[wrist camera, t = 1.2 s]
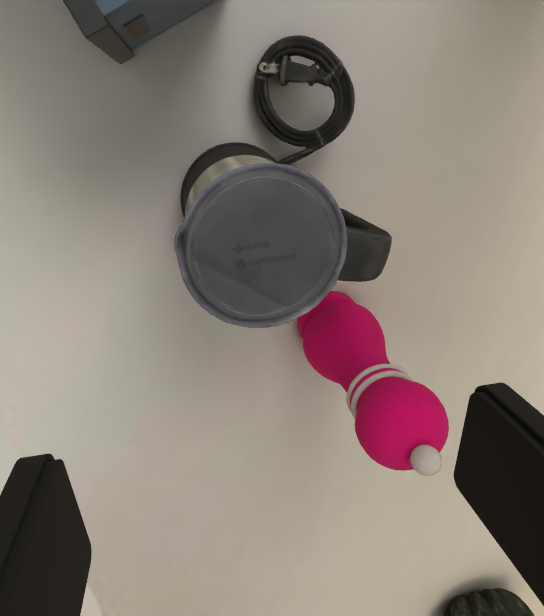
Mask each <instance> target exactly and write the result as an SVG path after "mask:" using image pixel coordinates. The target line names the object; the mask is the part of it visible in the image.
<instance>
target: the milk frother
mask: <svg viewBox="0 0 544 616" xmlns="http://www.w3.org/2000/svg"><path fill="white" fill-rule="evenodd" d="M294 55H295V56H301V57H305V58H307V59H310V60H313V61H314V62H315V64H313V65H311V66H310V67H308V66H305V65H302V64H299V63H295V62H292V61H291V58H290V56H294ZM316 65H319V69H317V67H316ZM273 75H276V76H278V78H279V81H280V83H279V84H280V86H286V85H287V83H288V82H307V83H308V84H309V85H310V86H313V84H314V83H319V84H322V85H324V86H329V87H330V88H331V89H332V91H333V93H334V98H335V105H334V109H333V112H332V114H331V116H330V117H329V119H328V120H327V121H326V122H325V123H324V124H323V125H321V126H320V127H318V128H316V129H314V130H310V131H300V130H297V129H294V128H292V127H290V126H289V125H287V124H286V123H285V122H284V121H283V120H281V119H280V117H279V116H278V115H277V114H276V112H275V110H274V109H273V106H272V104H271V101H270V98H269V92H268V79H269V77H270V76H273ZM254 100H255V105H256V108H257V111H258V113H259V115H260V117H261V119H262V121H263V123H264V124H265V126H266V127H267V128H268V130H269V131H270V132H271V133H273V134H274V135H275V136H276V137H277V138H279V139H280V140H282V141H284V142H286V143H289V144H291V145H295V146H302V147H306V148H305V149H304V150H302V151H299V152H297V153H295V154H292V155H290V156H288V157H286V158H284V159H282V160H280V161H279V162H277V161H276V160H275V159H274V158H273V157H271V156H270V155H269V154H268V153H267V152H265V151H264V150H262V149H260V148H258V147H256V146H253V145H249V144H245V143H227V144H222V145H217V146H215V147H213V148H211V149H209V150H207V151H206V152H204V153H203V154H202V155H200V156H199V157H198V158H197V159H196V160H195V161H194V163H193V164H192V165H191V167H190V168H189V170H188V172H187V174H186V176H185V178H184V181H183V184H182V189H181V205H182V212H183V216H184V220H183V223H182V224H181V226H180V227H179V229H178V231H177V233H176V235H175V251H176V255H177V258H178V263H179V267H180V270H181V275H182V278H183V281H184V283H185V285H186V287H187V289H188V291H189V292H190V294H191V295H192V296H193V298H194V299H195V300H196V302H197V303H199V304H200V305H201V307H202V308H204V309H205V310H206V311H208V312H209V313H210V314H212V315H214V316H215V317H217V318H219V319H220V320H222V321H225V322H227V323H231V324H234V325H239V326H243V327H249V328H264V327H271V326H279V325H281V324H284V323H288V322H290V321H293V320H295V319H297V318H298V317H300V316H302V315H304V314H306V313H308V312H309V311H310V310H312V309H313V308H314V307H316V306H317V305H318V304H319V303H320V302H321V301H322V300H323V299H324V297H325V296H326V295H328V293H329V292H330V291H331V289H332V288H333V287H334V286H335V284H336V282H337V280H342V281H357V282H362V281H370V280H374V279H376V278H377V277H378V276H379V275H380V274H381V273H382V271H383V268H384V266H385V264H386V261H387V258H388V255H389V252H390V247H391V241H392V237H391V236H390V234H389V233H388V232H386V231H385V230H383V229H380V228H378V227H377V226H375V225H373V224H371V223H369V222H367V221H365V220H363V219H361V218H359V217H357V216H355V215H353V214H351V213H349V212H348V211H346V210H344V209H341V208H339V206H338V204H337V203H336V200H335V199H334V197H333V196H332V195H331V193H330V192H329V191H328V190H327V188H326V187H325V186H324V185H323V184H322V183H321V182H320V181H318V180H317V179H316V178H314V177H313V176H312V175H310V174H308V173H307V172H305V171H302V170H300V169H298V168H296V167H293V166H290V164H292V163H294V162H296V161H297V160H300V159H302V158H304V157H306V156H308V155H310V154H311V153H313V152H315V151H316V150H318V149H320V148H322V147H324V146H325V145H326V144H328V143H330V142H331V141H333V140H334V139H336V138H337V137H338V136H339V135H340V134H341V133H342V132H343V131H344V129H345V128H346V126H347V125H348V123H349V121H350V119H351V117H352V114H353V110H354V103H355V95H354V88H353V84H352V82H351V79H350V76H349V75H348V73H347V71H346V69H345V67H344V66H343V63H342V61H341V60H340V59H339V58H338V57H337V56H336V55H335V54H334V53H333V52H332V51H331V50H330V49H329V48H328V47H327V46H325V45H324V44H323V43H322V42H320V41H318V40H316V39H314V38H311V37H307V36H299V35H298V36H290V37H286V38H283V39H281V40H279V41H277V42H276V43H274V44H273V45H271V46H270V47H269V48H268V50H267V51H266V52H265V54H264V55H263V57H262V58H261V60H260V62H259V64H258V66H257V70H256V74H255V83H254Z"/></svg>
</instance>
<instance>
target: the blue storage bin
mask: <svg viewBox="0 0 544 616" xmlns="http://www.w3.org/2000/svg"><path fill="white" fill-rule="evenodd" d="M63 1H64V3H65V5H66V6H67V8H68V10H69V11H70V13H71V15H72V16H73V18H74V20H75V21H76V23H77V25H78V26H79V28H80V30H81V31H82V33H83V35H84V36H85V38H87V39H88V40H89V41H91V42H92V43H93V44H94V45H96V46H97V47H98V48H100V49H101V50H102V51H104V52H105V53H106V54H108V55H109V56H110V57H112V58H113V59H114V60H115V61H117V62H118V63H119V64H123V63H124V62H126V61H128V60H130V59H131V58H133V57H134V54H133V52H132V50H133V49H135V48H137V47H138V46H140V45H142V44H144V43H145V42H147V41H149V40H150V39H152V38H154V37H156V36H157V35H159V34H161V33H162V32H164V31H166V30H168V29H169V28H171V27H173V26H174V25H176V24H178V23H180V22H181V21H183V20H185V19H186V18H188V17H190V16H192V15H193V14H195V13H197V12H198V11H200V10H202V9H204V8H205V7H207V6H209V5H210V4H212V3H214V2H216V1H217V0H63Z"/></svg>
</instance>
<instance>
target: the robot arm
mask: <svg viewBox="0 0 544 616" xmlns="http://www.w3.org/2000/svg"><path fill="white" fill-rule="evenodd" d="M454 480H455V483H456V486H457V488H458V489H459V491H460V492H461V494H462V495H463V496H464V498H465V499H466V500H467V502H468V503H469V504H470V506H471V507H472V509H473V510H474V511H475V513H476V514H477V515H478V517H479V518H480V519H481V521H482V522H483V524H484V525H485V526H486V528H487V529H488V530H489V532H490V533H491V535H492V536H493V537H494V539H495V540H496V541H497V543H498V544H499V545H500V547H501V548H502V550H503V551H504V552H505V554H506V555H507V556H508V558H509V559H510V560H511V562H512V563H513V565H514V566H515V567H516V569H517V570H518V571H519V573H520V574H521V575H522V577H523V578H524V580H525V581H526V582H527V584H528V585H529V586H530V588H531V589H532V590H533V592H534V593H535V595H536V596H537V597H538V599H539V600H540V601H541V603H542V604H543V606H544V415H542V414H541V413H540V412H539V411H538V410H536V409H535V408H534V407H533V406H532V405H531V404H529V403H528V402H527V401H526V400H525V399H523V398H522V397H521V396H520V395H519V394H517V393H516V392H515V391H514V390H513V389H511V388H510V387H509V386H508V385H506V384H505V383H495V384H489V385H482V386H478V387H477V388H476V389H475V392H474V393H473V394H471V396H470V398H469V403H468V408H467V413H466V417H465V422H464V427H463V432H462V437H461V441H460V446H459V451H458V456H457V461H456V465H455V470H454ZM90 563H91V544H90V540H89V537H88V534H87V531H86V528H85V525H84V522H83V519H82V516H81V513H80V510H79V507H78V504H77V501H76V498H75V495H74V492H73V489H72V486H71V483H70V480H69V477H68V474H67V471H66V468H65V465H64V463H63V461H62V460H61V459H58V460H55V459H54V457H53V456H52V455H51V454H43V455H37V456H31V457H24V458H20V459H18V460H17V462H16V463H15V465H14V467H13V469H12V472H11V474H10V476H9V478H8V480H7V482H6V484H5V486H4V489H3V491H2V493H1V495H0V616H80V613H81V608H82V603H83V598H84V593H85V588H86V583H87V578H88V573H89V568H90Z"/></svg>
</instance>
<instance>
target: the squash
mask: <svg viewBox="0 0 544 616" xmlns="http://www.w3.org/2000/svg"><path fill="white" fill-rule="evenodd" d="M443 616H534V614H533V613H532V611H531V610H530V609H529V607H528V606H527V605H526V604H525V603H524V602H523V601H522V600H521V599H520V598H519V597H518V596H517V595H516V594H514V593H512V592H510V591H508V590H505V589H501V588H496V589H493V590H491V589H484V590H482V592H481V594H478V593H475V592H474V593H471V595H470V596H469V598H468V597H466V596H458V597H455V598H454V599H453V600H452V603H451V605H450V606H449V607H448V608H447V609H446V610H445V611H444V614H443Z"/></svg>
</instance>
